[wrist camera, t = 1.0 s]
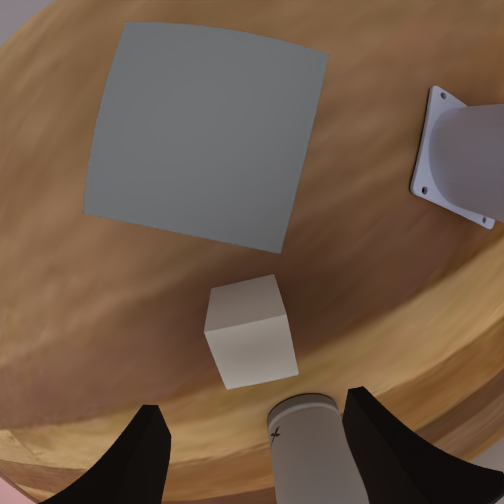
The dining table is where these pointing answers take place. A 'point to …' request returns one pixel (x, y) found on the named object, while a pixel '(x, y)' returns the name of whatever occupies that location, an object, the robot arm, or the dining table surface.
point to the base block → (204, 132)
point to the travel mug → (312, 454)
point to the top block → (250, 333)
